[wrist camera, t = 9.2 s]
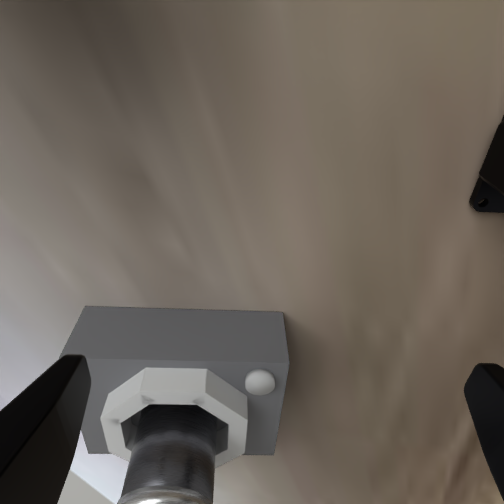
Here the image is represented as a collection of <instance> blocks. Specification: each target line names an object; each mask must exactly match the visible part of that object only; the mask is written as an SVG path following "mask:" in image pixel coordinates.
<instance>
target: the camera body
mask: <svg viewBox="0 0 504 504" xmlns="http://www.w3.org/2000/svg"><path fill="white" fill-rule="evenodd" d="M66 354H82V355H84V356H85V357H86V360H87V364H88V368H89V372H90V376H91V389H90V394H89V398H88V402H87V406H86V410H85V414H84V418H83V422H82V426H81V431H82V434H83V437H84V441H85V444H86V447H87V450H88V454H114V455H116V456H118V457H120V458H122V459H124V460H126V461H128V462H129V461H130V457H131V452H132V448H133V444H134V440H135V436H136V431H137V427H138V423H139V419H140V415H141V410H142V409H143V408H145V407H146V406H148V405H149V404H179V405H198V406H200V407H201V408H203V409H205V410H206V411H208V412H209V413H211V414H213V415H214V416H216V417H217V435H216V454H215V468H217V467H219V466H221V465H223V464H225V463H227V462H229V461H231V460H233V459H234V458H236V457H238V456H240V455H274V451H275V446H276V440H277V434H278V428H279V422H280V416H281V410H282V405H283V399H284V393H285V387H286V381H287V375H288V369H289V363H290V362H289V355H288V348H287V340H286V333H285V325H284V318H283V312H262V311H228V310H195V309H161V308H128V307H94V306H85V307H84V309H83V311H82V313H81V315H80V317H79V319H78V321H77V323H76V325H75V327H74V329H73V331H72V333H71V335H70V337H69V339H68V341H67V343H66V345H65V347H64V349H63V351H62V353H61V355H60V357H59V359H60V358H61V357H62V356H64V355H66Z"/></svg>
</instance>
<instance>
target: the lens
mask: <svg viewBox="0 0 504 504" xmlns="http://www.w3.org/2000/svg"><path fill="white" fill-rule="evenodd" d="M216 435H217V417H216V416H214V415H213V414H211V413H209V412H208V411H206V410H205V409H203V408H201V407H200V406H198V405H179V404H149V405H148V406H146V407H145V408H143V409H142V410H141V415H140V419H139V423H138V427H137V431H136V436H135V440H134V444H133V448H132V452H131V457H130V461H129V465H128V469H127V473H126V478H125V482H124V486H123V490H122V494H121V498H120V499H119V501H118V503H117V504H213V491H214V473H215V454H216Z"/></svg>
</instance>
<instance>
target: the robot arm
mask: <svg viewBox="0 0 504 504" xmlns="http://www.w3.org/2000/svg"><path fill="white" fill-rule="evenodd" d="M479 175H480V176H479V178H478V180H477V183H476V185H475V188H474V190H473V193H472V195H471V198H470V201H469V203H470V206H471V207H473V208H474V209H475V210H476V211H479V212H497V213H504V117H503V119H502V122H501V123H500V124H499V126H498V128H497V131H496V133H495V135H494V138H493V140H492V143H491V145H490V148H489V150H488V153H487V155H486V158H485V160H484V163H483V165H482V168H481V170H480V172H479ZM481 199H484V201H483V202H482V203H480V204H478V203H479V201H480V200H481ZM90 389H91V376H90V372H89V368H88V364H87V360H86V357H85V356H84V355H82V354H66V355H64V356H62V357H61V358H60V359H59V360H58V361H56V362H55V363H54V364H53V365H52V366H51V367H50V368H48V369H47V370H46V371H45V372H44V373H43V374H42V375H41V376H39V377H38V378H37V379H36V380H35V381H34V382H33V383H31V384H30V385H29V386H28V387H27V388H26V389H25V390H24V391H22V392H21V393H20V394H19V395H18V396H17V397H16V398H14V399H13V400H12V401H11V402H10V403H9V404H8V405H7V406H5V407H4V408H3V409H2V410H1V411H0V504H57V503H58V500H59V497H60V495H61V492H62V489H63V486H64V484H65V481H66V478H67V475H68V472H69V470H70V467H71V464H72V461H73V458H74V454H75V450H76V447H77V443H78V439H79V434H80V430H81V426H82V422H83V418H84V414H85V410H86V406H87V402H88V398H89V394H90ZM464 394H465V398H466V401H467V404H468V407H469V410H470V413H471V416H472V419H473V422H474V426H475V429H476V432H477V435H478V438H479V441H480V444H481V447H482V450H483V453H484V456H485V458H486V461H487V463H488V466H489V468H490V471H491V473H492V475H493V478H494V480H495V482H496V485H497V487H498V489H499V491H500V494H501V496H502V498H503V501H504V368H502V367H501V366H499V365H497V364H494V363H479V364H477V365H476V366H475V367H474V369H473V371H472V373H471V374H470V376H469V378H468V380H467V382H466V383H465V386H464Z"/></svg>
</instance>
